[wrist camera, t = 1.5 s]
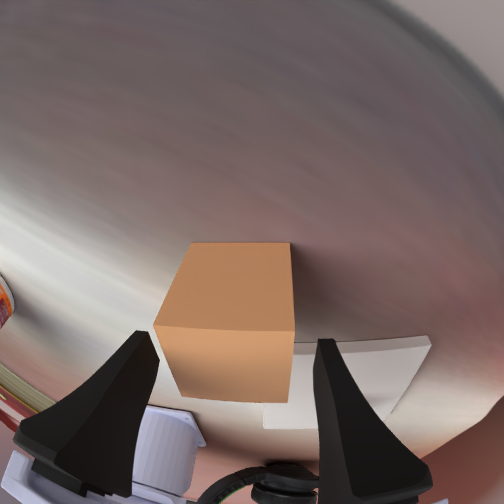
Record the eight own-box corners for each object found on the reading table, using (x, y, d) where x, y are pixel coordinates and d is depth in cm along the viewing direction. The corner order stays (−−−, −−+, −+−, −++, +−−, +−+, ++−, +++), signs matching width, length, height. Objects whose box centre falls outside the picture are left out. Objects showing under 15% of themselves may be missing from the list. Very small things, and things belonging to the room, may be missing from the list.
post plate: (382, 413, 24) (388, 446, 20) (263, 420, 25) (261, 455, 21) (427, 335, 18) (445, 378, 14) (262, 342, 19) (258, 393, 15)
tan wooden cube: (286, 315, 17) (287, 402, 12) (204, 313, 18) (181, 396, 12) (289, 242, 15) (295, 331, 9) (191, 242, 15) (152, 325, 10)
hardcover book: (73, 427, 38) (66, 444, 34) (-13, 367, 33) (-23, 382, 30) (73, 408, 32) (64, 430, 28) (-27, 335, 27) (-39, 353, 24)
